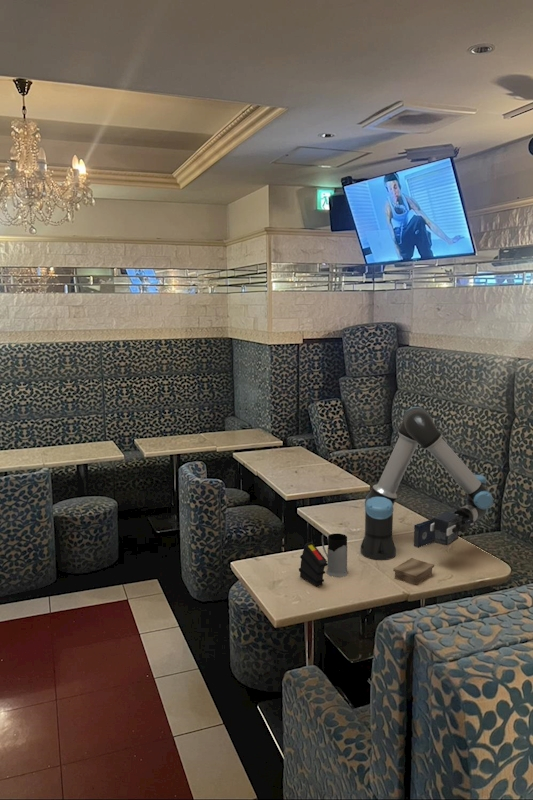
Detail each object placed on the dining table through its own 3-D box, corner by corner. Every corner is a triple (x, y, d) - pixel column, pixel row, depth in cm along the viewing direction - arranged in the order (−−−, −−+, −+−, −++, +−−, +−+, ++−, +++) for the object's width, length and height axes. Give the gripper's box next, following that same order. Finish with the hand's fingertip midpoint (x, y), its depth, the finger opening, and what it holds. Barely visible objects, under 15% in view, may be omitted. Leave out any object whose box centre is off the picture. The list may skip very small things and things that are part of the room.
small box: (443, 534, 259) (445, 510, 257) (458, 538, 255) (460, 514, 253) (432, 542, 251) (433, 517, 250) (447, 546, 247) (448, 521, 245)
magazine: (301, 568, 249) (311, 541, 241) (320, 592, 240) (331, 565, 232) (294, 570, 247) (304, 543, 239) (312, 595, 238) (323, 567, 230)
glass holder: (335, 579, 242) (336, 542, 240) (313, 566, 254) (313, 531, 252) (352, 573, 247) (353, 538, 245) (330, 561, 259) (330, 527, 256)
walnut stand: (393, 578, 243) (393, 568, 242) (411, 567, 253) (411, 557, 252) (415, 586, 236) (416, 576, 235) (433, 574, 246) (433, 564, 246)
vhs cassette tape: (439, 536, 286) (439, 516, 284) (444, 538, 283) (445, 517, 282) (412, 546, 275) (413, 524, 273) (417, 548, 273) (418, 526, 271)
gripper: (486, 530, 258) (461, 545, 242) (443, 518, 271) (417, 532, 255) (487, 512, 257) (462, 527, 241) (444, 502, 270) (418, 515, 254)
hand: (439, 530), depth 248 cm, fingers closed on small box, 6 cm apart
